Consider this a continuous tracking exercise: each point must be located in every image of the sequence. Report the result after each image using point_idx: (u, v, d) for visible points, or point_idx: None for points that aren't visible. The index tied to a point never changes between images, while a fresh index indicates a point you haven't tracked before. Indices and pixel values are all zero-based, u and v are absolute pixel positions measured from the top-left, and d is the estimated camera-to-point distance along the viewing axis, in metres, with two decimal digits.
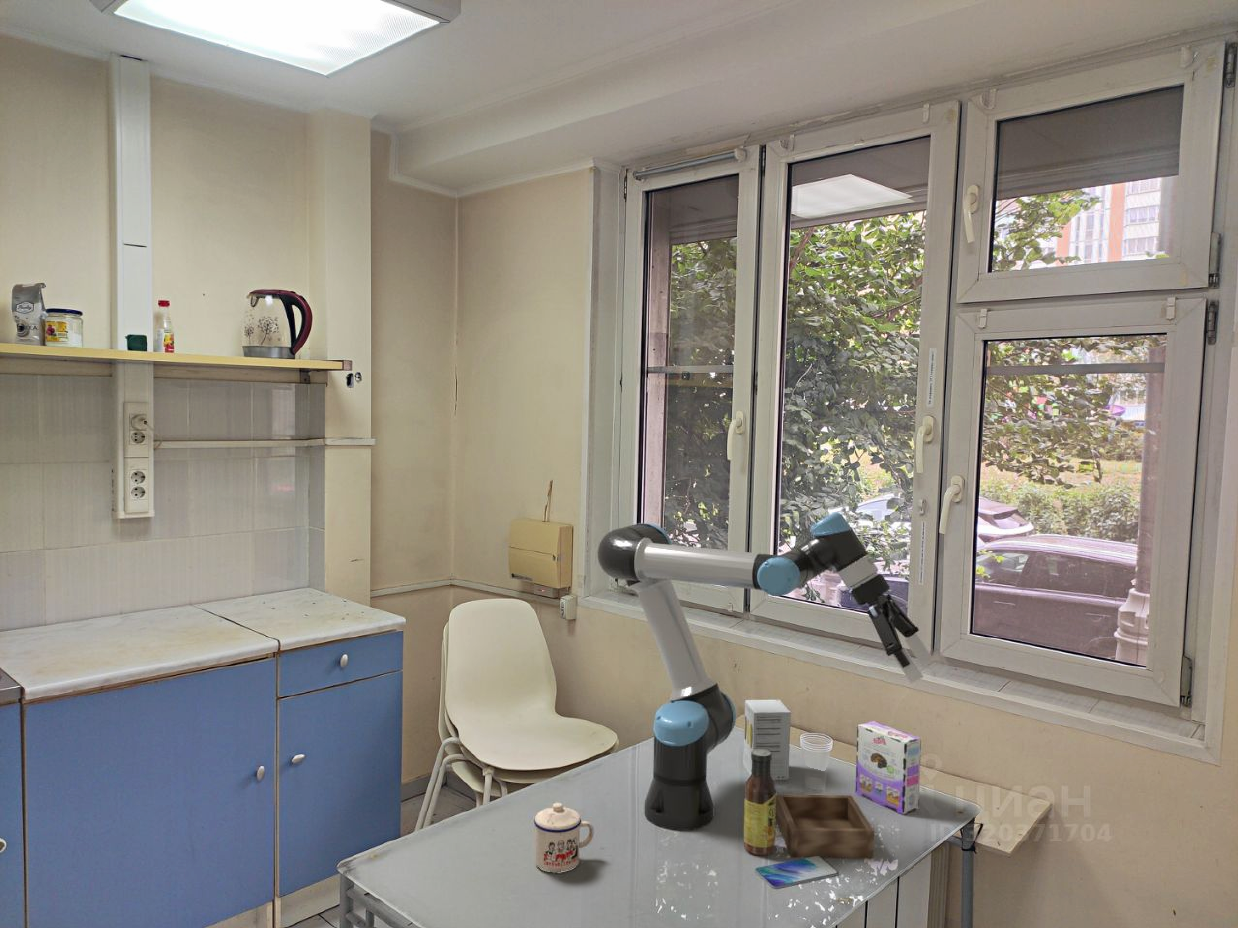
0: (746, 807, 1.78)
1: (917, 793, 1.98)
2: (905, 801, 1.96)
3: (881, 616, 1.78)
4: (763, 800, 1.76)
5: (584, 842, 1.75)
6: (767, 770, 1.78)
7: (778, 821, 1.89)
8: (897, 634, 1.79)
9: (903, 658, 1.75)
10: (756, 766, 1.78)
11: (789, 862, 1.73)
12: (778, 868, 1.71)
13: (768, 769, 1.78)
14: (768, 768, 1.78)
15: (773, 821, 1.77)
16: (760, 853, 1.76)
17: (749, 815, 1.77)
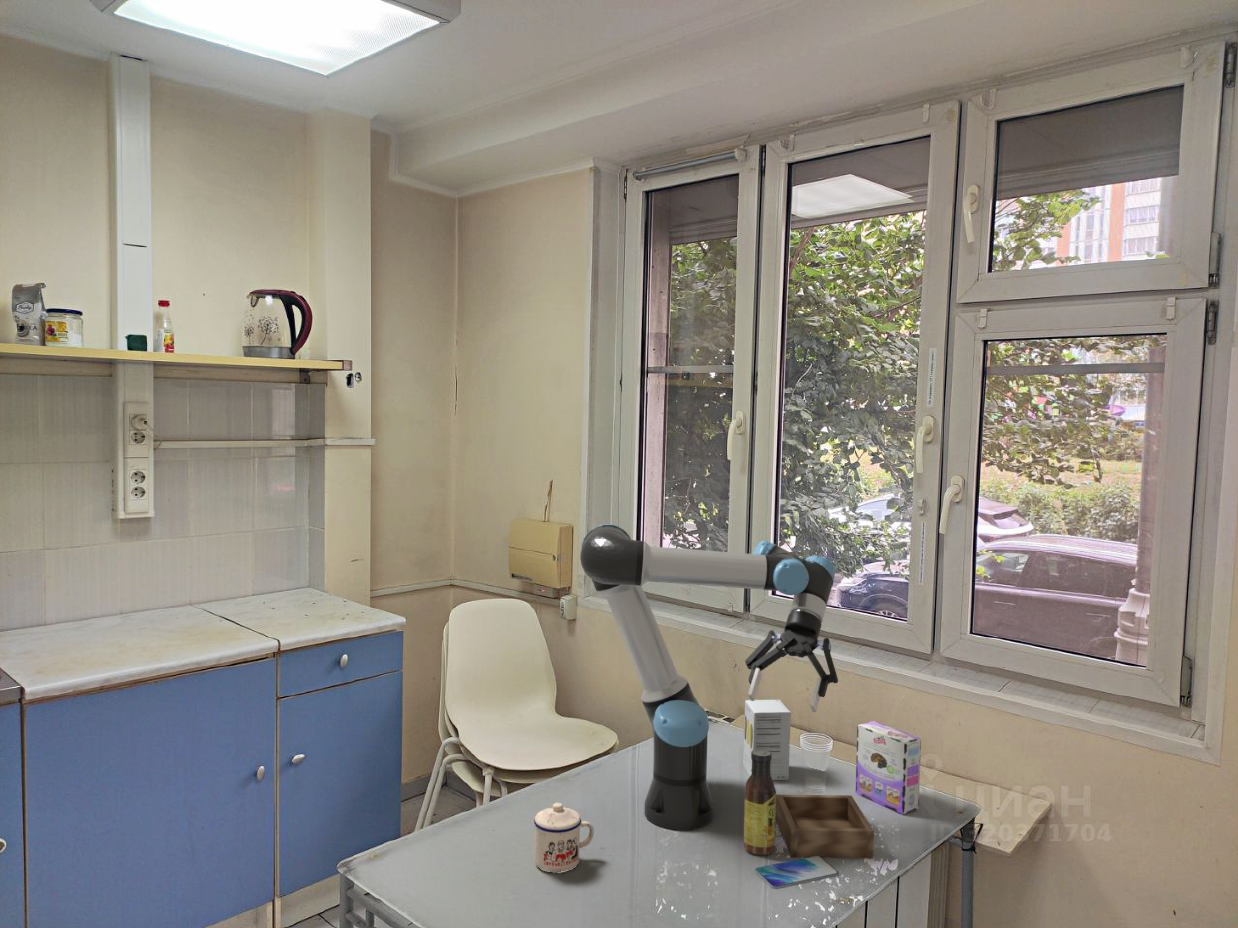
0: (746, 807, 1.78)
1: (917, 793, 1.98)
2: (905, 801, 1.96)
3: None
4: (763, 800, 1.76)
5: (584, 842, 1.75)
6: (767, 770, 1.78)
7: (778, 821, 1.89)
8: (817, 671, 1.91)
9: None
10: (756, 766, 1.78)
11: (789, 862, 1.73)
12: (778, 868, 1.71)
13: (768, 769, 1.78)
14: (768, 768, 1.78)
15: (773, 821, 1.77)
16: (760, 853, 1.76)
17: (749, 815, 1.77)
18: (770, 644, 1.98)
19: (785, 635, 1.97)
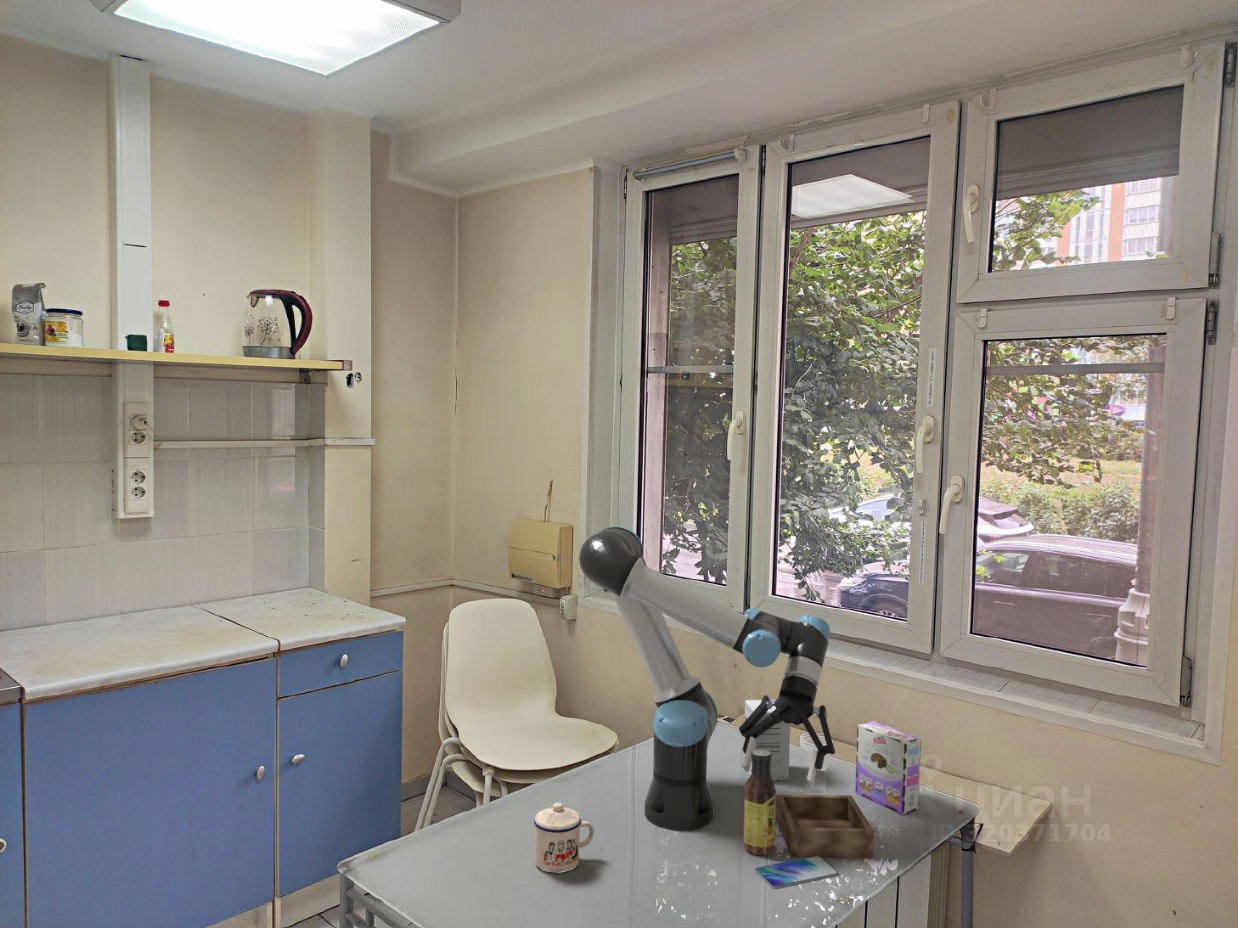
0: (746, 807, 1.78)
1: (917, 793, 1.98)
2: (905, 801, 1.96)
3: (826, 721, 1.87)
4: (763, 800, 1.76)
5: (584, 842, 1.75)
6: (767, 770, 1.78)
7: (778, 821, 1.89)
8: None
9: (822, 762, 1.81)
10: (756, 766, 1.78)
11: (789, 862, 1.73)
12: (778, 868, 1.71)
13: (768, 769, 1.78)
14: (768, 768, 1.78)
15: (773, 821, 1.77)
16: (760, 853, 1.76)
17: (749, 815, 1.77)
18: (764, 709, 1.92)
19: (780, 701, 1.91)
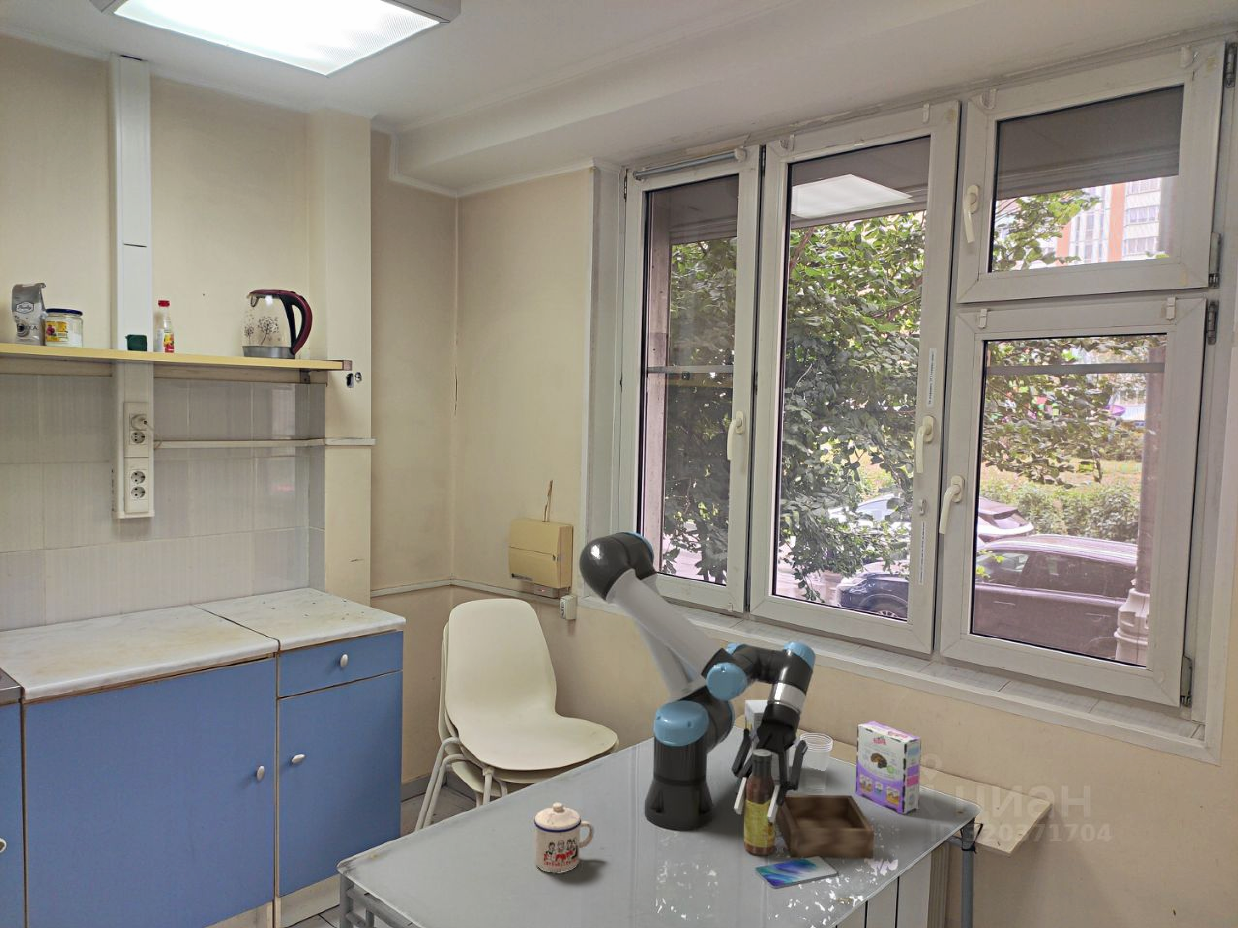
0: (746, 807, 1.78)
1: (917, 793, 1.98)
2: (905, 801, 1.96)
3: (802, 757, 1.82)
4: (763, 800, 1.76)
5: (584, 842, 1.75)
6: (768, 770, 1.77)
7: (778, 821, 1.89)
8: None
9: (784, 798, 1.77)
10: (756, 766, 1.78)
11: (789, 862, 1.73)
12: (778, 868, 1.71)
13: (769, 769, 1.78)
14: (769, 768, 1.78)
15: None
16: (760, 853, 1.76)
17: (750, 815, 1.77)
18: (749, 743, 1.87)
19: (761, 729, 1.87)
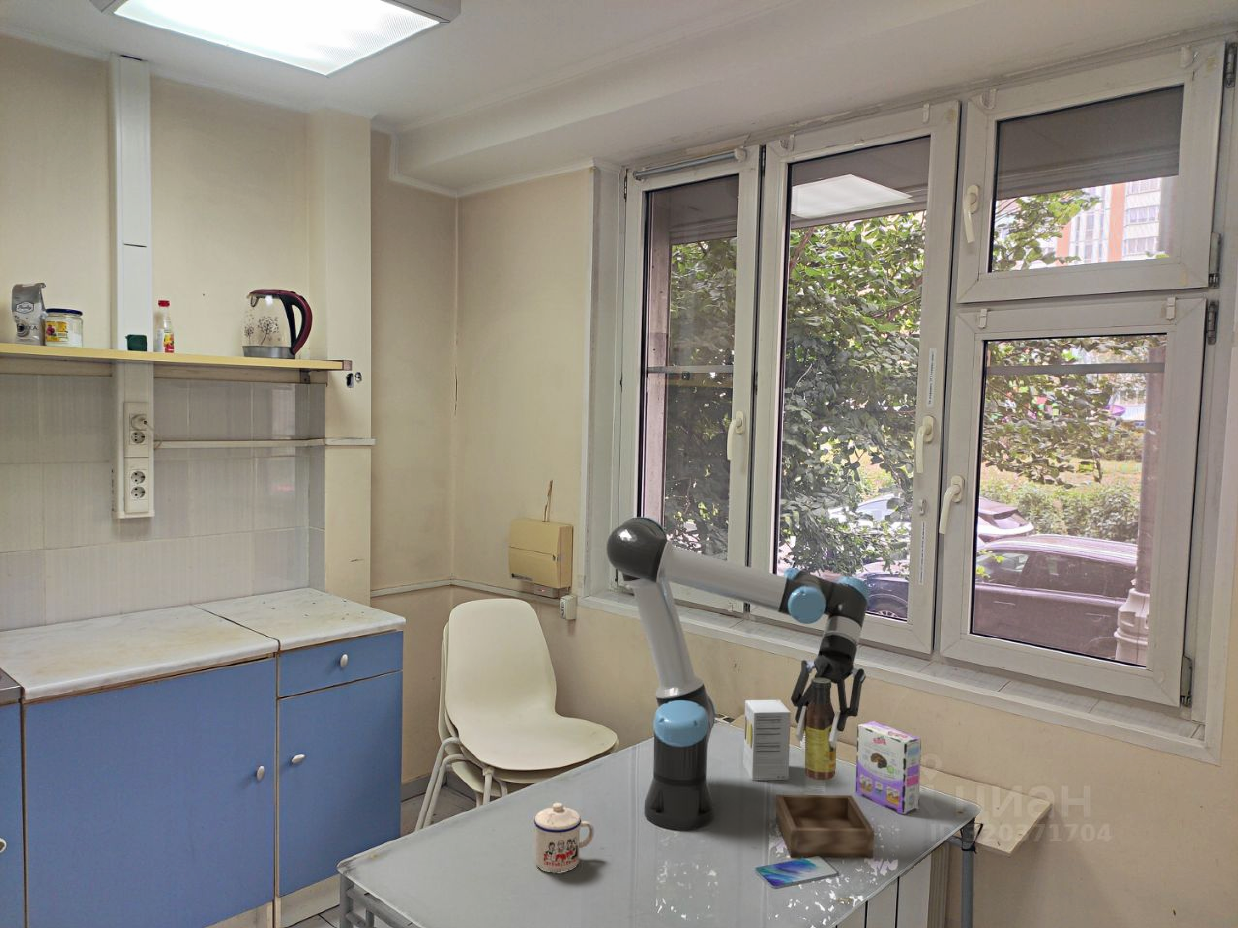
0: (807, 734, 1.82)
1: (917, 793, 1.98)
2: (905, 801, 1.96)
3: (861, 685, 1.85)
4: (824, 725, 1.80)
5: (584, 842, 1.75)
6: (827, 697, 1.81)
7: (778, 821, 1.89)
8: None
9: None
10: (816, 693, 1.81)
11: (789, 862, 1.74)
12: (778, 868, 1.71)
13: (828, 696, 1.81)
14: (828, 695, 1.81)
15: None
16: (822, 778, 1.80)
17: (811, 741, 1.81)
18: (807, 674, 1.90)
19: (819, 660, 1.90)
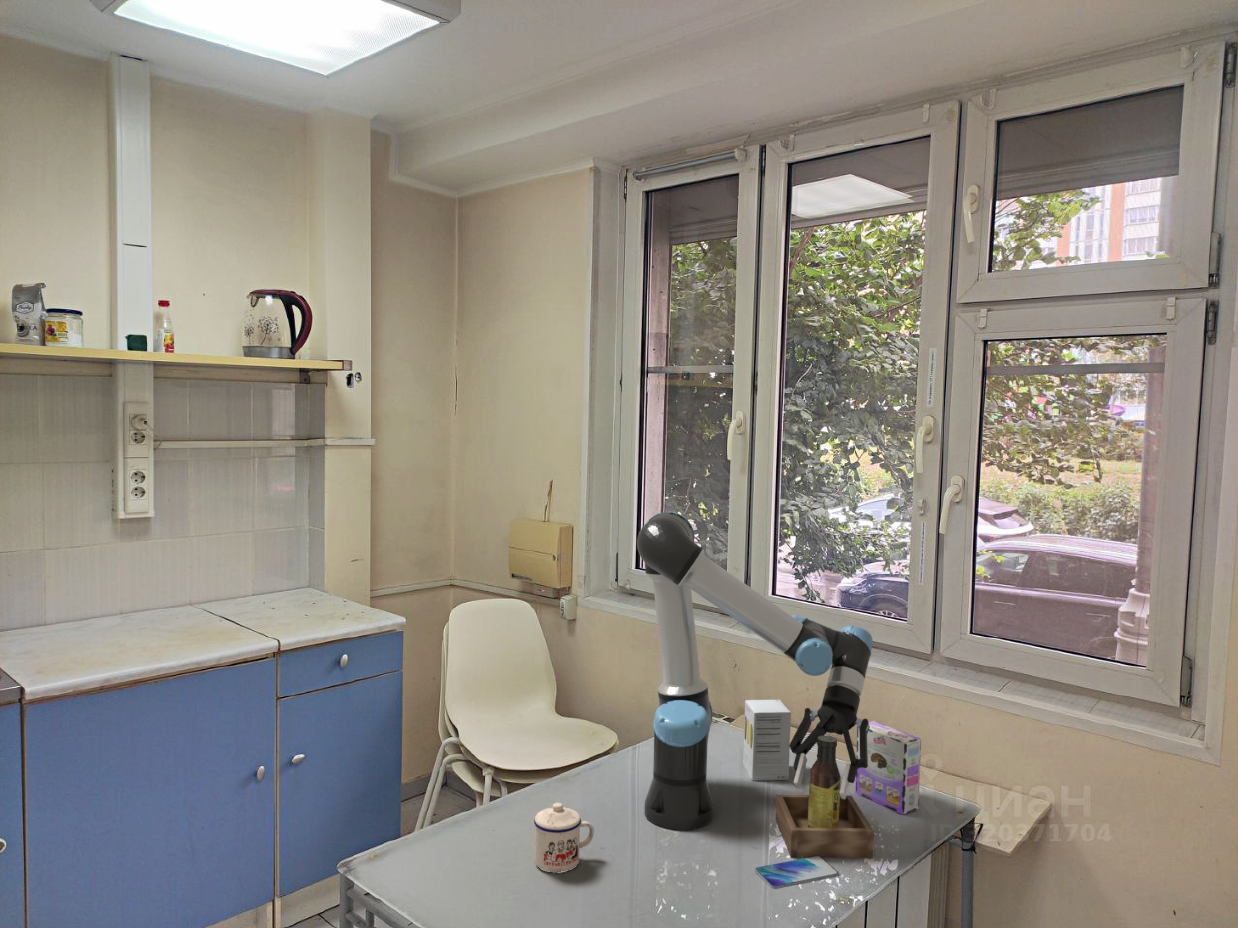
0: (811, 791, 1.83)
1: (917, 793, 1.98)
2: (905, 801, 1.96)
3: (866, 735, 1.87)
4: (829, 784, 1.81)
5: (584, 842, 1.75)
6: (833, 755, 1.83)
7: (778, 821, 1.89)
8: None
9: (855, 775, 1.81)
10: (822, 751, 1.83)
11: (789, 862, 1.74)
12: (778, 868, 1.71)
13: (834, 755, 1.83)
14: (834, 754, 1.83)
15: (838, 805, 1.83)
16: None
17: (815, 799, 1.82)
18: (809, 722, 1.92)
19: (822, 710, 1.92)
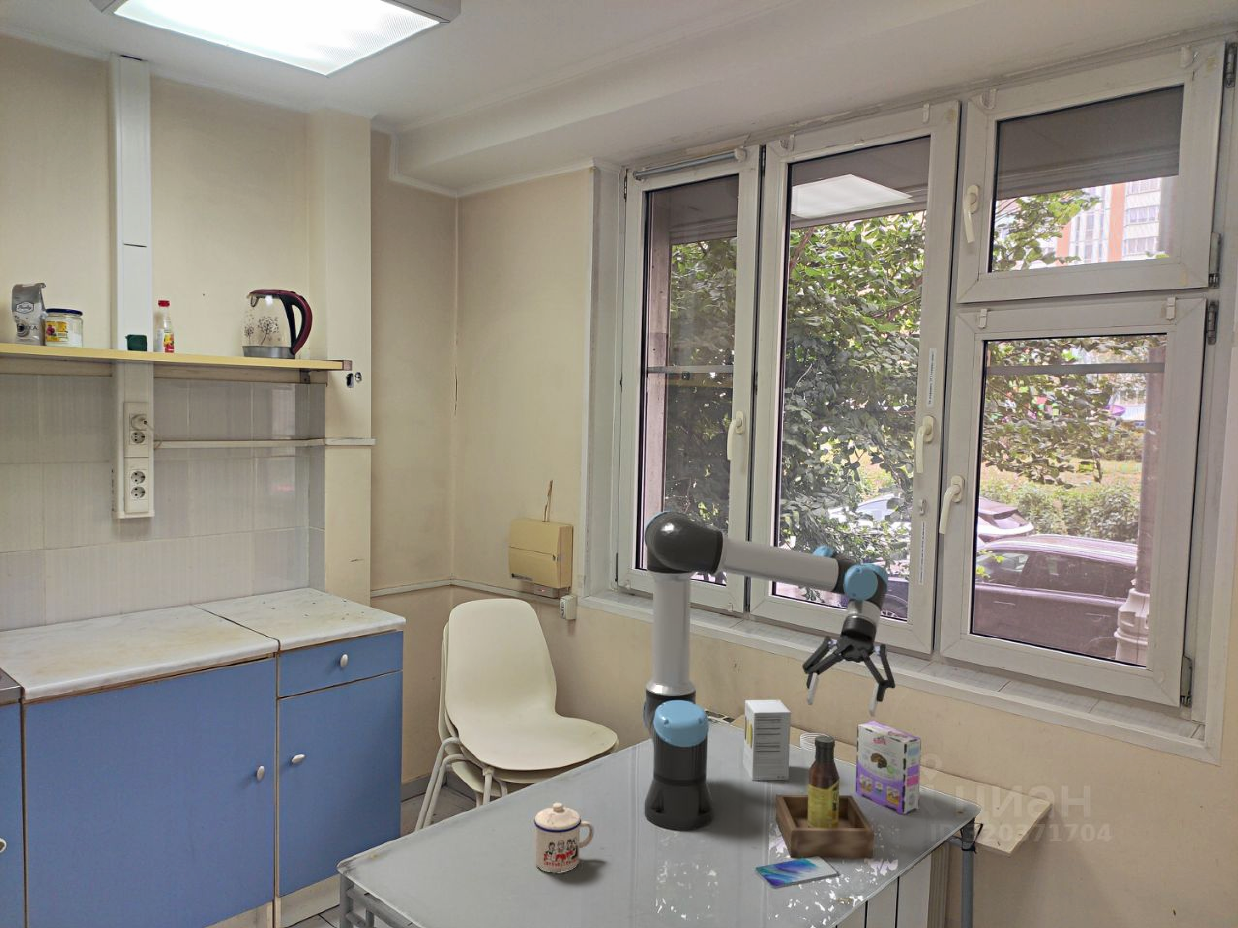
0: (810, 792, 1.83)
1: (917, 793, 1.98)
2: (905, 801, 1.96)
3: None
4: (827, 785, 1.81)
5: (584, 842, 1.75)
6: (831, 756, 1.83)
7: (778, 821, 1.89)
8: None
9: None
10: (820, 752, 1.83)
11: (789, 862, 1.74)
12: (778, 868, 1.71)
13: (832, 755, 1.83)
14: (832, 754, 1.83)
15: (837, 806, 1.82)
16: None
17: (814, 800, 1.82)
18: (826, 649, 2.03)
19: (841, 641, 2.02)
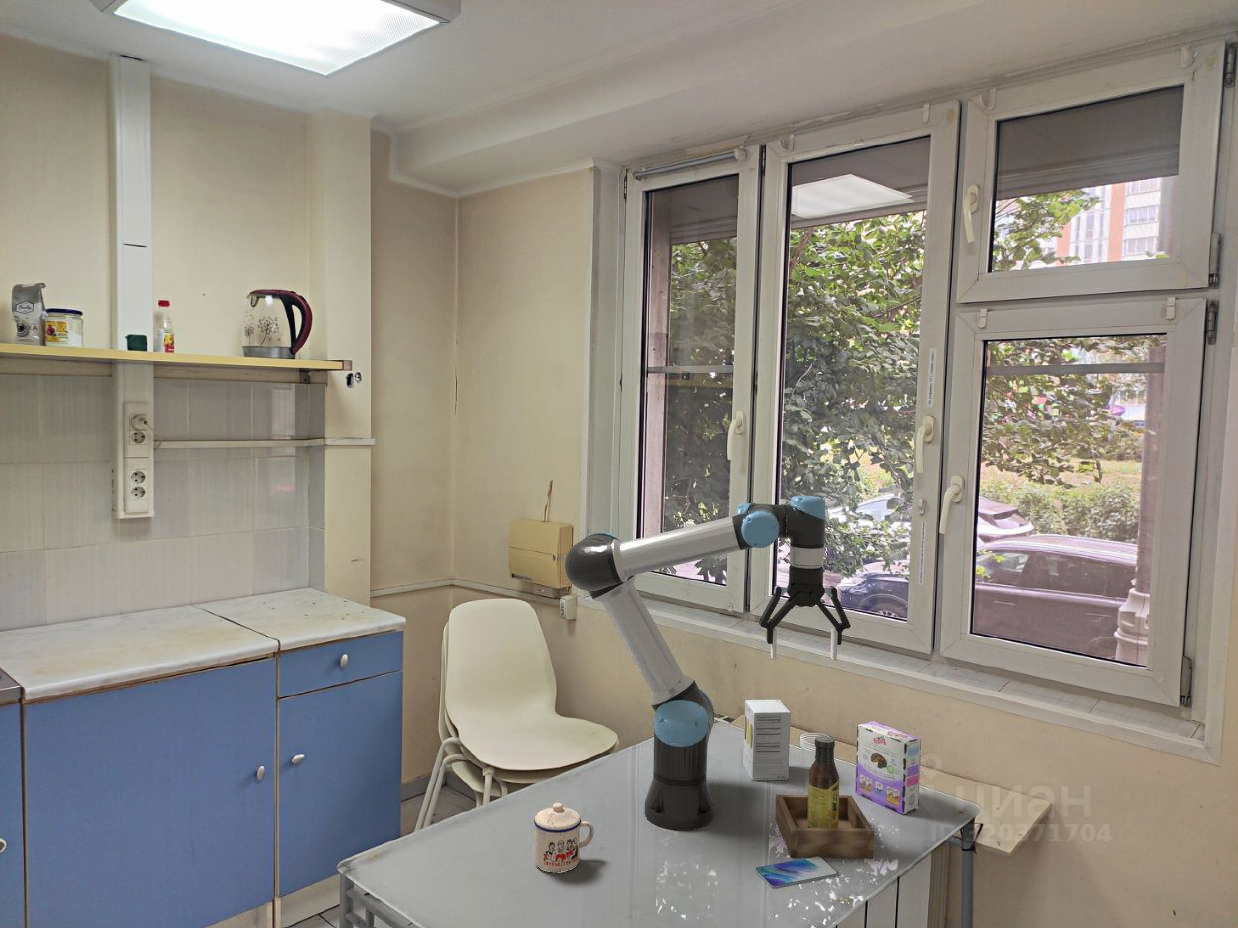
0: (810, 792, 1.83)
1: (917, 793, 1.98)
2: (905, 801, 1.96)
3: None
4: (827, 785, 1.81)
5: (584, 842, 1.75)
6: (831, 756, 1.83)
7: (778, 821, 1.89)
8: None
9: None
10: (820, 752, 1.83)
11: (789, 862, 1.74)
12: (778, 868, 1.71)
13: (832, 755, 1.83)
14: (832, 754, 1.83)
15: (837, 806, 1.82)
16: None
17: (814, 800, 1.82)
18: None
19: (793, 590, 1.99)
